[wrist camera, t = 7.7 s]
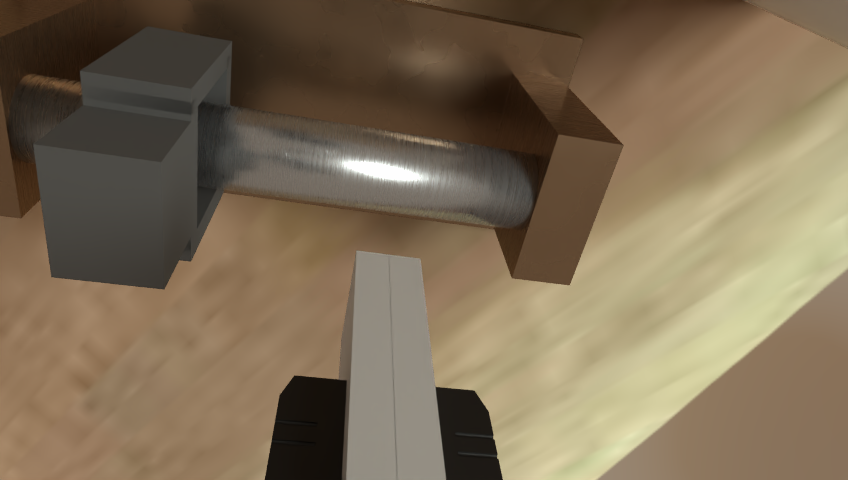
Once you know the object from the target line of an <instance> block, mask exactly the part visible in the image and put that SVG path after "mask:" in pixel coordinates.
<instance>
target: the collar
mask: <svg viewBox="0 0 848 480" xmlns="http://www.w3.org/2000/svg"><path fill="white" fill-rule="evenodd" d="M231 58H232V41H228V40H222V39H217V38H211V37H205V36H200V35H194V34H188V33H183V32H177V31H171V30H166V29H160V28H154V27H149V26H147V27H146V28H144V29H143V30H141V31H140V32H138V33H137V34H135V35H134V36H132V37H131V38H129V39H128V40H126V41H125V42H123V43H121V44H120V45H118V46H117V47H115V48H114V49H112V50H111V51H109V52H108V53H106V54H105V55H103V56H102V57H100V58H99V59H97V60H96V61H94V62H93V63H91V64H90V65H88V66H87V67H85V68H83V69H82V70H80V78H81V89H82V100H83V105H82V106H81V107H80V108H79V109H77V110H76V111H75V112H73V113H72V114H71V115H70V116H68V117H67V118H66V119H65V120H63V121H62V122H61V123H59V124H58V125H57V126H56V127H54V128H53V129H52V130H51V131H49V132H48V133H47V134H45V135H44V136H43V137H42V138H40V139H39V140H38V141H36V142H35V143H34V144H33V147H34V154H35V162H36V169H37V176H38V183H39V190H40V198H41V205H42V212H43V219H44V227H45V234H46V241H47V248H48V256H49V263H50V270H51V277H55V278H64V279H73V280H82V281H92V282H101V283H110V284H119V285H129V286H138V287H147V288H156V289H165V287H166V285H167V283H168V281H169V279H170V277H171V275H172V273H173V271H174V269H175V267H176V265H177V263H178V261H179V260H183V261H191V260H192V258H193V256H194V254H195V252H196V250H197V247H198V245H199V243H200V241H201V239H202V237H203V235H204V233H205V230H206V228H207V226H208V224H209V222H210V220H211V218H212V216H213V213H214V211H215V209H216V207H217V205H218V203H219V201H220V198H221V196H222V194H223V192H224V190H222V189H215V188H207V187H200V186H197V157H198V106H199V104H200V103H201V102H202V101H206V102H212V103H219V104H225V105H230V86H231Z"/></svg>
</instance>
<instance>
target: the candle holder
mask: <svg viewBox="0 0 848 480" xmlns="http://www.w3.org/2000/svg"><path fill="white" fill-rule="evenodd" d="M743 1H745V2H747V3H749V4H751V5H753V6H756V7H758V8H760V9H762V10H764V11H766V12H768V13H771V14H773V15H775V16H777V17H779V18H782V19H784V20H786V21H788V22H790V23H792V24H795V25H797V26H799V27H801V28H803V29H806V30H808V31H810V32H812V33H814V34H817V35H819V36H821V37H823V38H825V39H828V40H830V41H832V42H834V43H836V44H839V45H841V46H843V47H845V48H847V49H848V0H743Z"/></svg>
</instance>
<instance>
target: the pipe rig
mask: <svg viewBox="0 0 848 480" xmlns="http://www.w3.org/2000/svg"><path fill="white" fill-rule="evenodd" d="M147 26H149V27H154V28H160V29H166V30H171V31H177V32H183V33H188V34H194V35H200V36H205V37H211V38H217V39H222V40H228V41H232V58H231V86H230V105H225V104H219V103H212V102H206V101H202V102H201V103H200V104H199V106H198V157H197V186H200V187H207V188H215V189H222V190H224V192H223V193H231V194H238V195H245V196H253V197H260V198H268V199H275V200H282V201H290V202H297V203H304V204H312V205H319V206H327V207H334V208H341V209H349V210H356V211H363V212H371V213H378V214H386V215H393V216H400V217H408V218H415V219H422V220H430V221H437V222H445V223H452V224H459V225H467V226H474V227H481V228H489V229H495V232H496V235H497V238H498V241H499V243H500V246H501V249H502V252H503V255H504V257H505V260H506V263H507V266H508V269H509V271H510V274H511V277H512V278H514V279H523V280H531V281H539V282H547V283H555V284H564V285H570V283H571V280H572V278H573V275H574V273H575V270H576V267H577V265H578V262H579V260H580V257H581V254H582V252H583V249H584V247H585V244H586V241H587V239H588V236H589V234H590V231H591V228H592V226H593V223H594V221H595V218H596V216H597V213H598V210H599V208H600V205H601V203H602V200H603V197H604V195H605V192H606V190H607V187H608V184H609V182H610V179H611V177H612V174H613V171H614V169H615V166H616V164H617V161H618V158H619V156H620V153H621V151H622V148H623V146H624V145H623V144H622V143H621V142H620V141H619V140H618V139H617V138H616V137H615V136H614V135H613V134H612V133H611V132H610V131H609V129H608V128H607V127H606V126H605V125H604V124H603V123H602V122H601V121H600V120H599V119H598V118H597V117H596V116H595V115H594V114H593V113H592V112H591V111H590V110H589V109H588V108H587V107H586V106H585V104H584V103H583V102H582V101H581V100H580V99H579V98H578V97H577V96H576V95H575V94H574V93H573V92H572V91H571V90H570V89H569V88H568V86H569V83H570V80H571V77H572V74H573V70H574V67H575V64H576V61H577V58H578V55H579V52H580V49H581V45H582V42H583V38H582V37H580V36H579V35H577V34H574V33H569V32H564V31H559V30H554V29H549V28H544V27H538V26H533V25H528V24H523V23H518V22H513V21H508V20H503V19H498V18H493V17H488V16H482V15H477V14H472V13H467V12H462V11H457V10H452V9H447V8H442V7H437V6H432V5H427V4H421V3H416V2H411V1H406V0H0V216H7V217H15V218H22V217H23V216H24V215H25V214H26V213H27V212H28V211H29V210H30V209H31V208H32V207H33V206H34V205H35V204H36V203H37V202H38V201H39V200H40V199H41V198H40V190H39V183H38V176H37V169H36V162H35V154H34V147H33V144H34V143H35V142H36V141H38V140H39V139H40V138H42V137H43V136H44V135H45V134H47V133H48V132H49V131H51V130H52V129H53V128H54V127H56V126H57V125H58V124H59V123H61V122H62V121H63V120H65V119H66V118H67V117H68V116H70V115H71V114H72V113H73V112H75V111H76V110H77V109H79V108H80V107H81V106H82V105H83V100H82V89H81V78H80V70H82V69H83V68H85V67H87V66H88V65H90V64H91V63H93V62H94V61H96V60H97V59H99V58H100V57H102V56H103V55H105V54H106V53H108V52H109V51H111V50H112V49H114V48H115V47H117V46H118V45H120V44H121V43H123V42H125V41H126V40H128V39H129V38H131V37H132V36H134V35H135V34H137V33H138V32H140V31H141V30H143V29H144V28H146V27H147Z"/></svg>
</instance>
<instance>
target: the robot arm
mask: <svg viewBox="0 0 848 480" xmlns="http://www.w3.org/2000/svg"><path fill="white" fill-rule="evenodd" d="M265 480H503V479H502V474H501V469H500V464H499V459H497V450H496V445H495V440H493V431H492V426H491V421H490V416H489V412H488V410H487V409H486V407H485V406H484V404H483V403H482V401H481V400H480V398H479V397H478V395H477V394H476V392H475V391H473V390H462V389H451V388H440V387H435V380H434V371H433V363H432V354H431V345H430V337H429V328H428V320H427V311H426V302H425V294H424V285H423V277H422V268H421V260H420V259H419V258H411V257H403V256H395V255H387V254H380V253H372V252H364V251H356V256H355V262H354V268H353V274H352V280H351V286H350V292H349V298H348V303H347V309H346V315H345V321H344V327H343V333H342V339H341V352H340V366H339V380H337V379H326V378H316V377H305V376H294V377H293V378H292V380H291V381H290V382H289V384H288V385H287V386H286V388H285V389H284V390H283V392H282V393H281V394H280V397H279V402H278V408H277V414H276V419H275V425H274V431H273V436H272V443H271V448H270V453H269V459H268V465H267V470H266V476H265Z"/></svg>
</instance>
